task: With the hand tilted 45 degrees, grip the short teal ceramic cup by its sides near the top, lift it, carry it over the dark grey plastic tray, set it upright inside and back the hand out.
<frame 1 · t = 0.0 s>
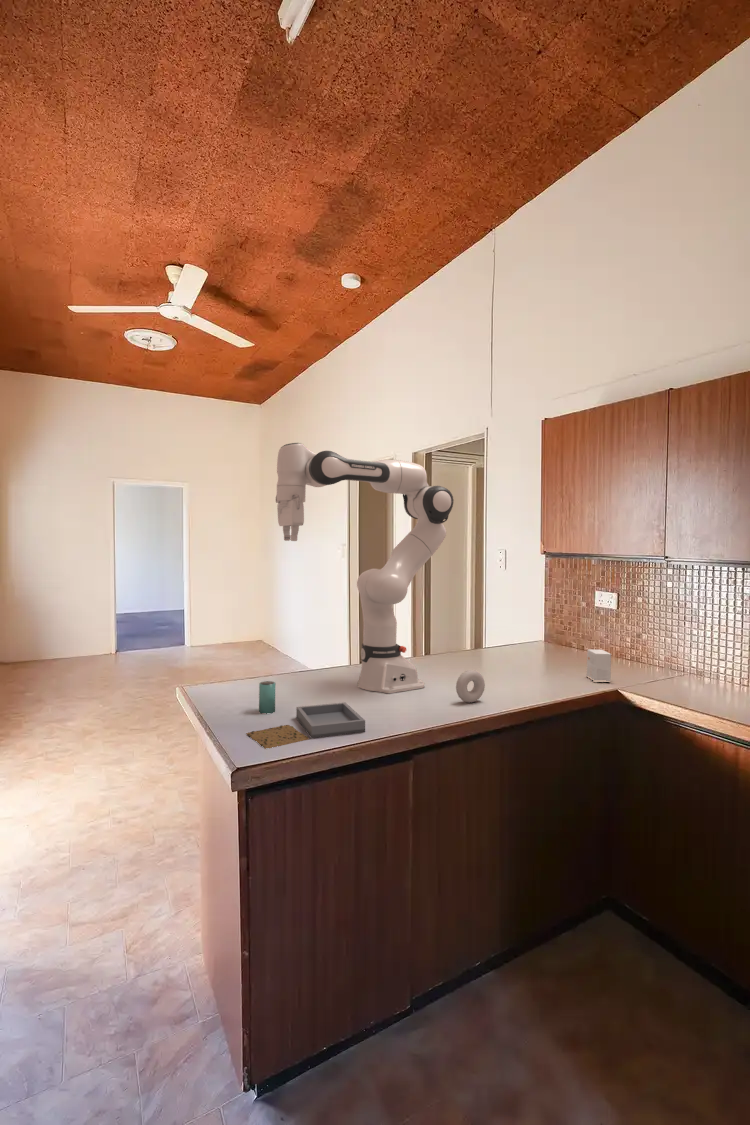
hand: (290, 540, 168), 48 cm above the counter, tool pointing down, fingers open, 8 cm apart
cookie: (277, 739, 134), on the counter
tray: (329, 724, 143), on the counter
donut: (470, 702, 166), on the counter
small box: (598, 680, 196), on the counter
cup: (267, 711, 153), on the counter
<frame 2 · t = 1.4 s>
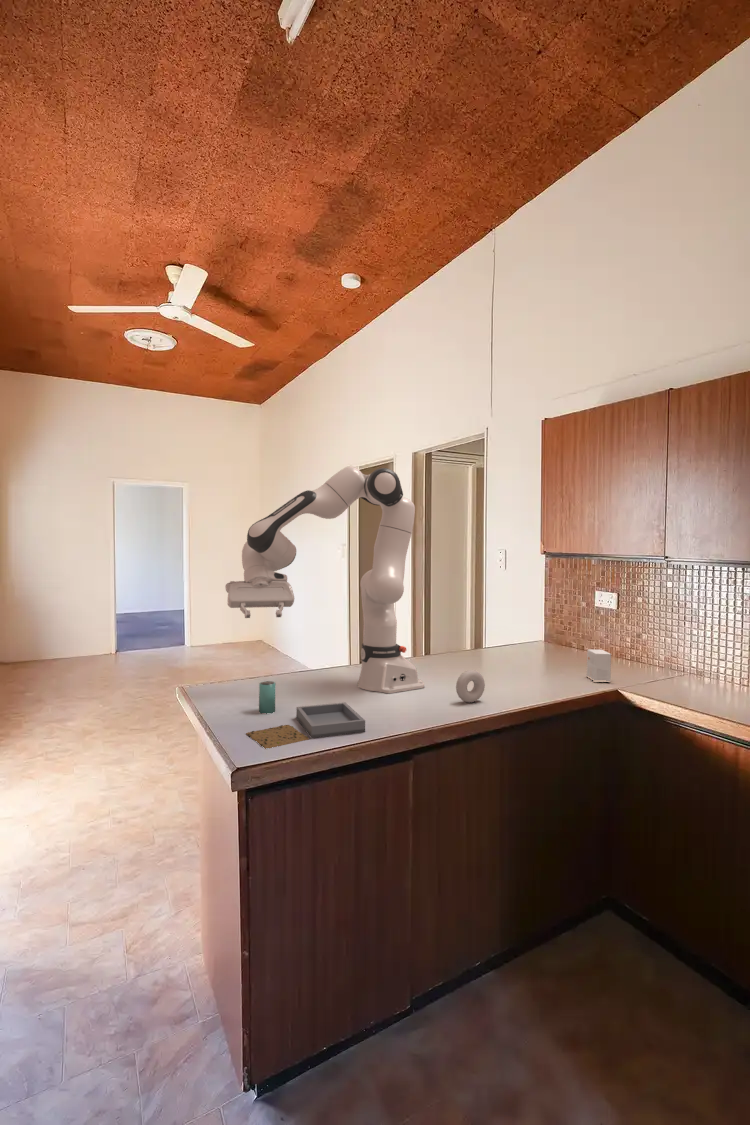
hand: (263, 616, 163), 25 cm above the counter, tool tilted 45°, fingers open, 8 cm apart
nothing on the counter moved.
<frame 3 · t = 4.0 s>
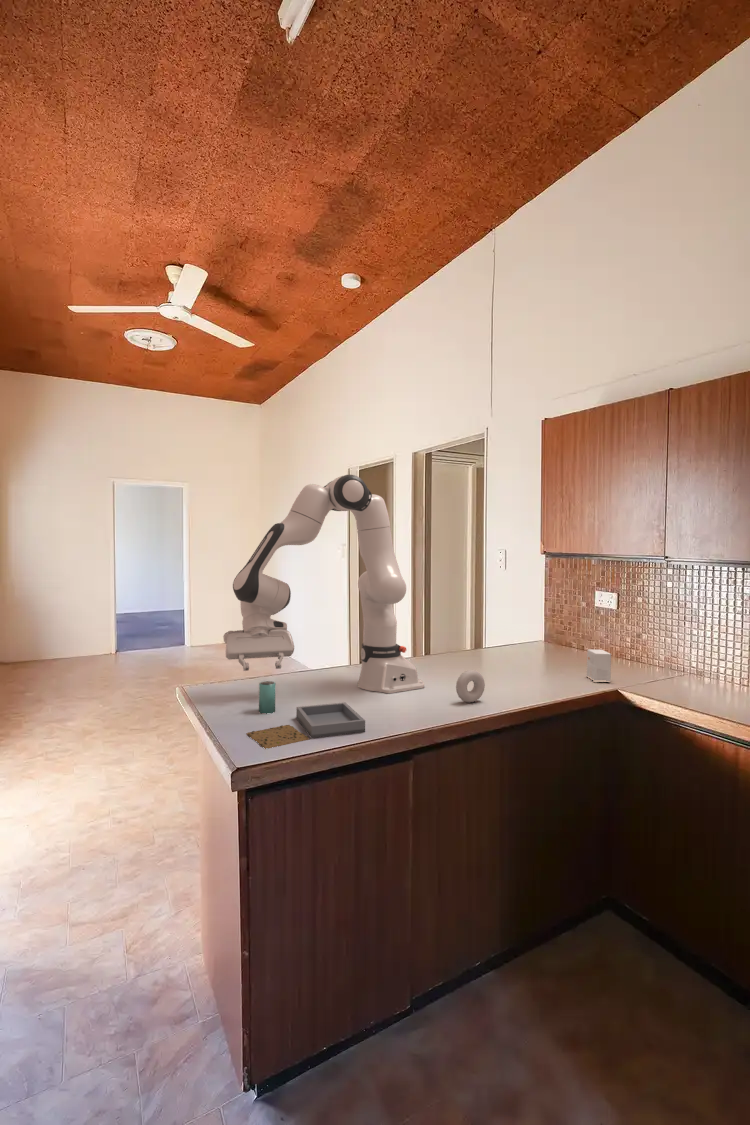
hand: (262, 668, 159), 10 cm above the counter, tool tilted 45°, fingers open, 8 cm apart
nothing on the counter moved.
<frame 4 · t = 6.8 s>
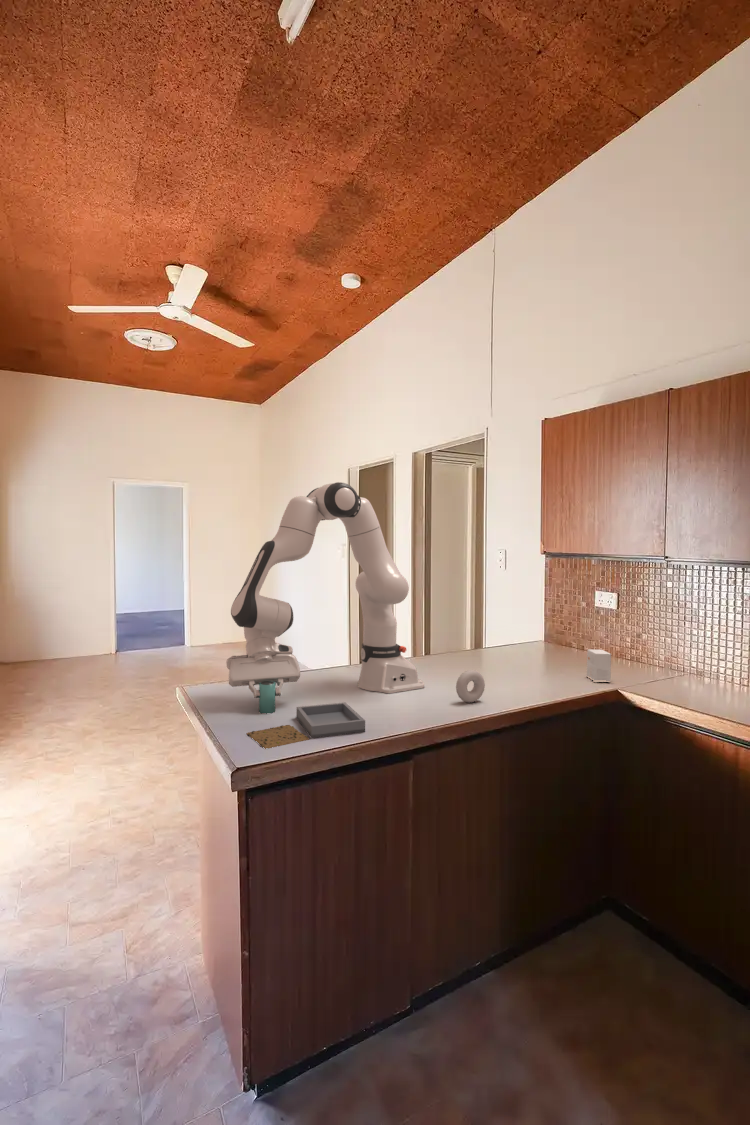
hand: (267, 696, 152), 4 cm above the counter, tool tilted 45°, fingers closed on cup, 4 cm apart
cup: (267, 711, 153), on the counter, touching gripper
everything else where it was.
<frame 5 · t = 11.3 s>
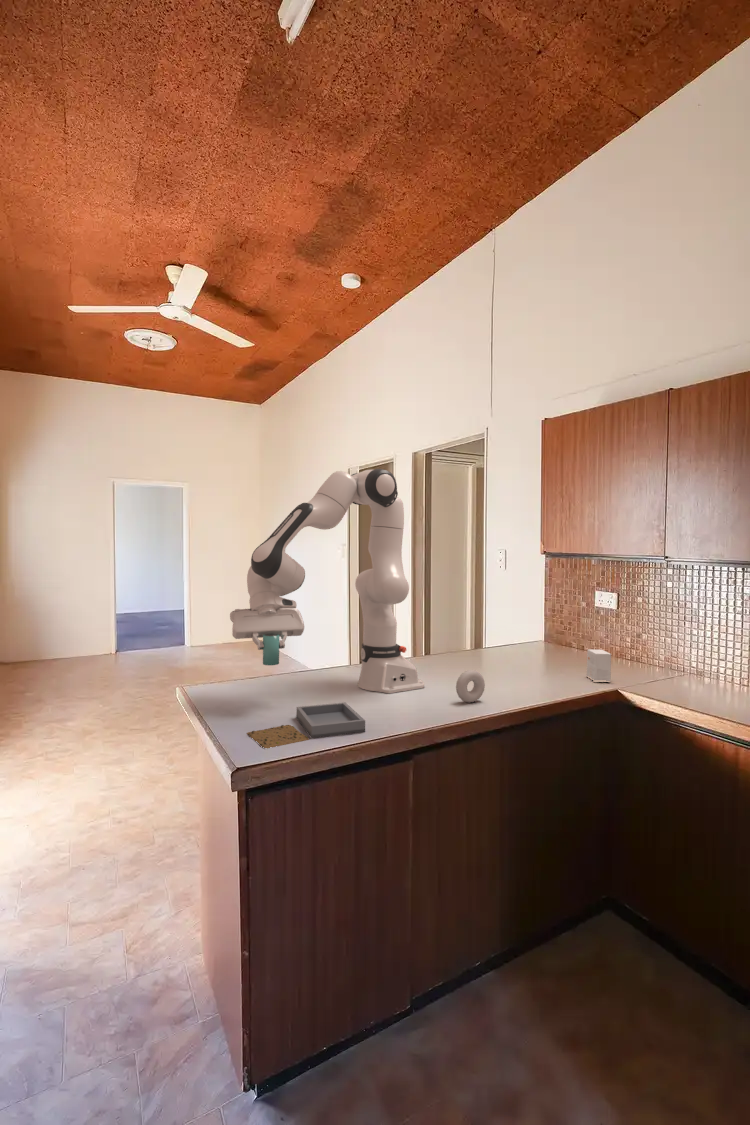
hand: (271, 648, 151), 18 cm above the counter, tool tilted 45°, fingers closed on cup, 4 cm apart
cup: (270, 663, 152), point 14 cm above the counter, touching gripper
everything else where it was.
when the fingers open (7 cm above the counter, at t = 16.0 s): cup drops 1 cm, resting on tray.
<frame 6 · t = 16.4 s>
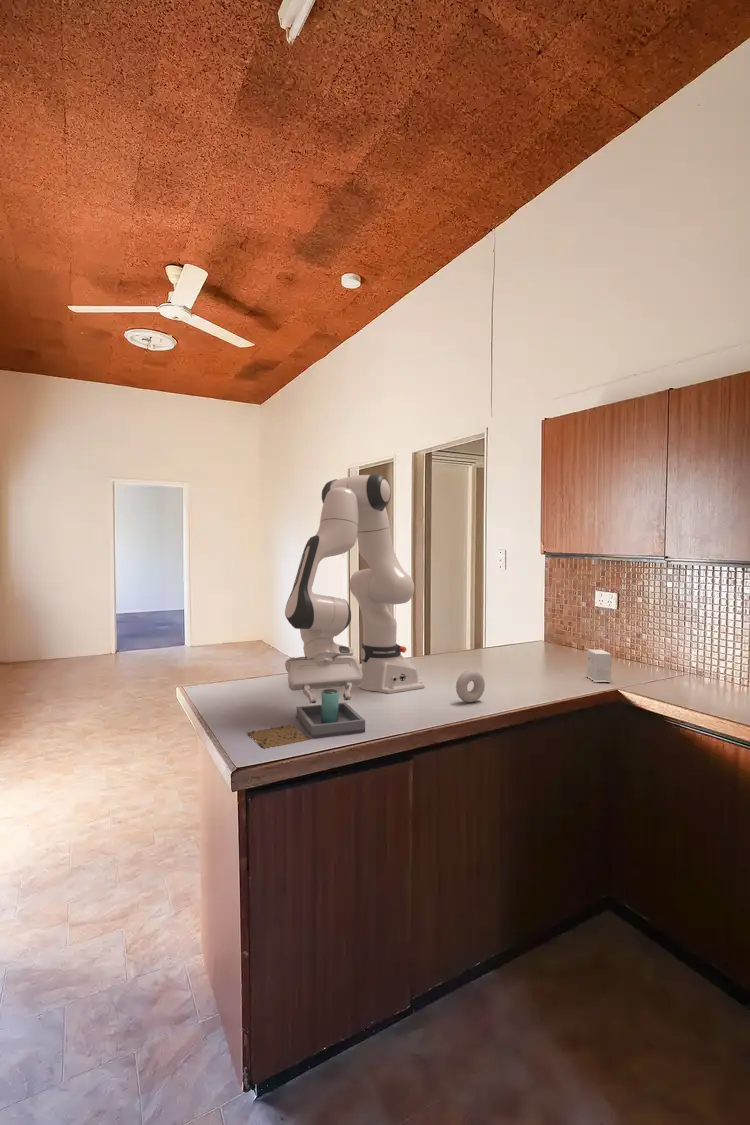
hand: (330, 700, 142), 7 cm above the counter, tool tilted 45°, fingers open, 8 cm apart
cup: (329, 721, 143), point 1 cm above the counter, touching tray
everything else where it was.
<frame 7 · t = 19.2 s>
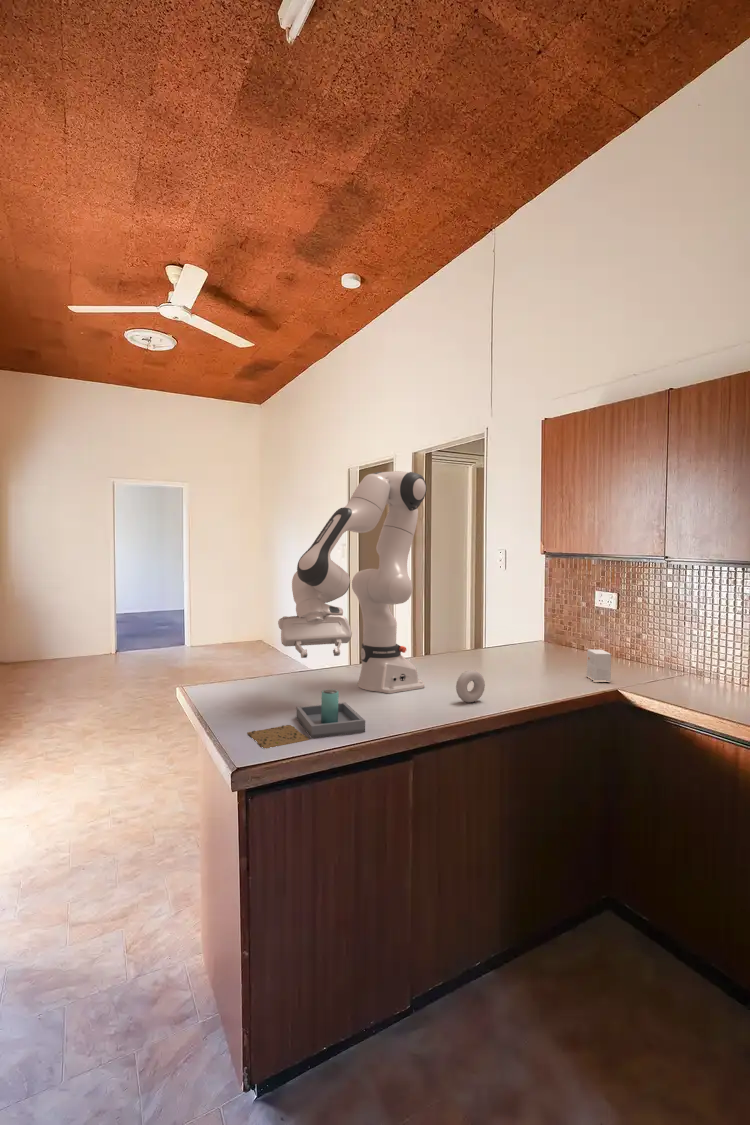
hand: (321, 655, 151), 16 cm above the counter, tool tilted 45°, fingers open, 8 cm apart
nothing on the counter moved.
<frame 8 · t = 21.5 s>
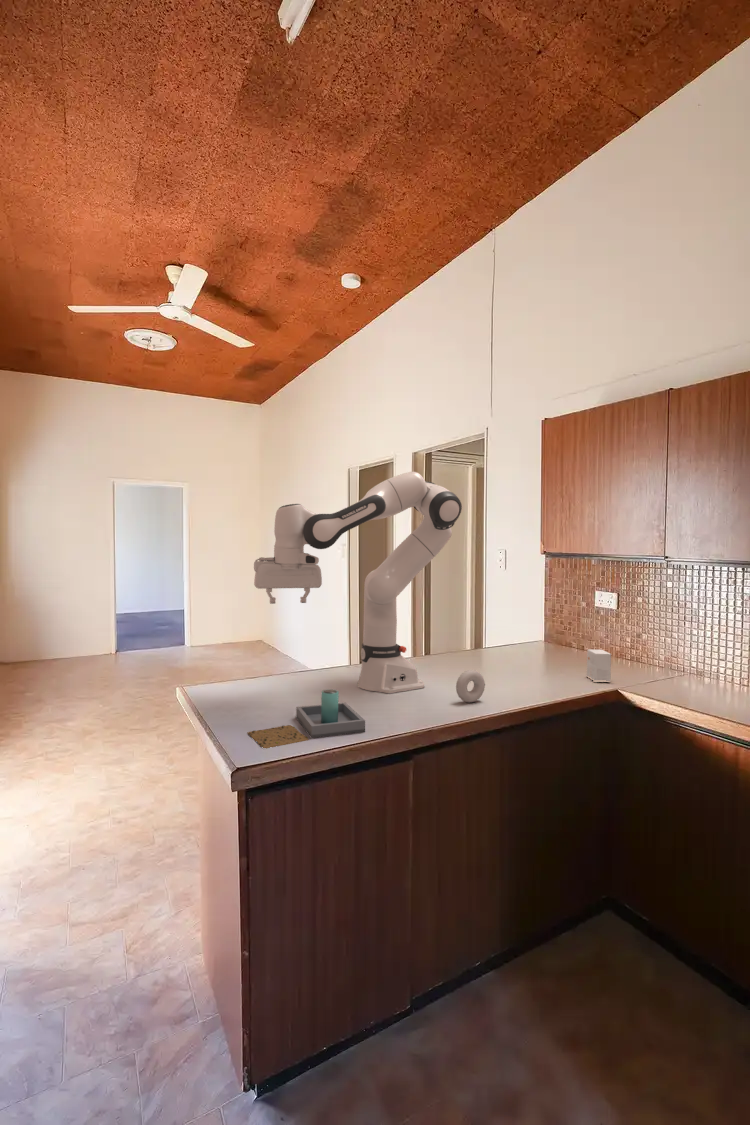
hand: (288, 603, 165), 29 cm above the counter, tool pointing down, fingers open, 8 cm apart
nothing on the counter moved.
at the end: cup inside the target area on the tray (0.0 cm from its centre), point 0.8 cm above the tray's base; cup tilted 0°; the gripper is holding nothing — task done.
